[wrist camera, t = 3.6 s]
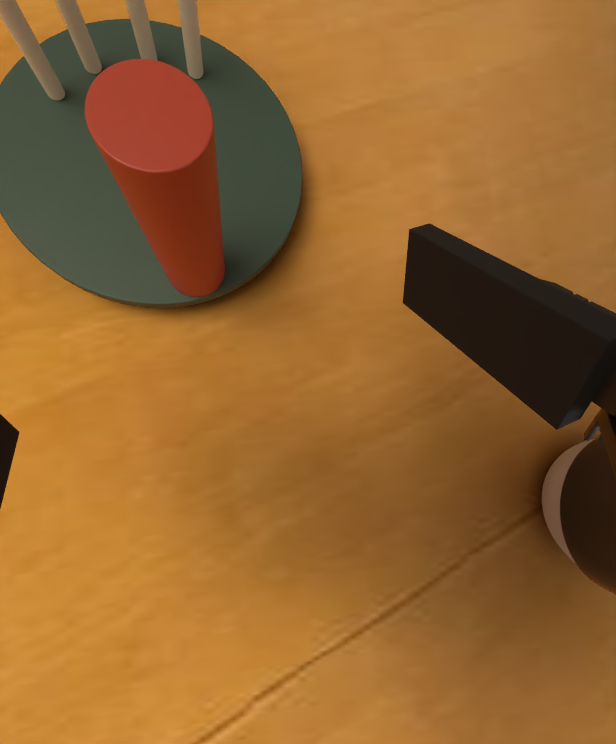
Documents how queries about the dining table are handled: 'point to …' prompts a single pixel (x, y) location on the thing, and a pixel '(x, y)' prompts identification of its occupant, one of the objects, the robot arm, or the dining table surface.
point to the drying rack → (144, 158)
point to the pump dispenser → (584, 510)
